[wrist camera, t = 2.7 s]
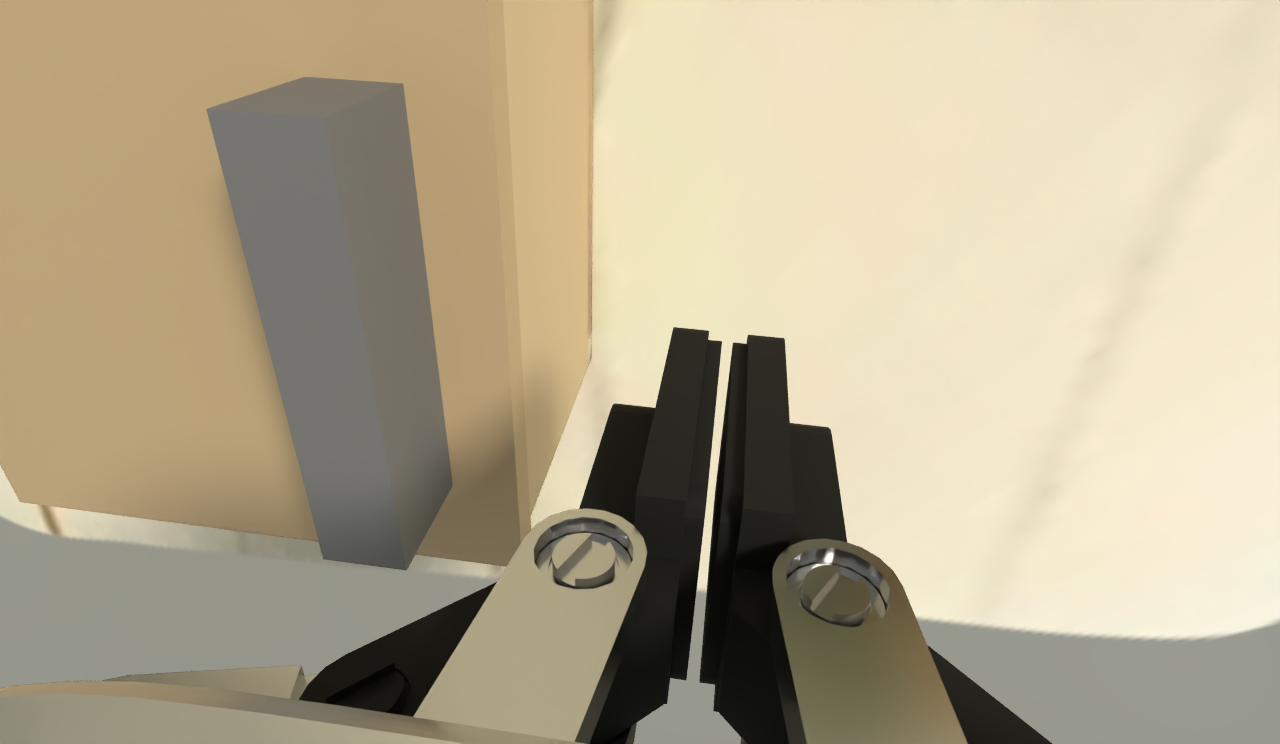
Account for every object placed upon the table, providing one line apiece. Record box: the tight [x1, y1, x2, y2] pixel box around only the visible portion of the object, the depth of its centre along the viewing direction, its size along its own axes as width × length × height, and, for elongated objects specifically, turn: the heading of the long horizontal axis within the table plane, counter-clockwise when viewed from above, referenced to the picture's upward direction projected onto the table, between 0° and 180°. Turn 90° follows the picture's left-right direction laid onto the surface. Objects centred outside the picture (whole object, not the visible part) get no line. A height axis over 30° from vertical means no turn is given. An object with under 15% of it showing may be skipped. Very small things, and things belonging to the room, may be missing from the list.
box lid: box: [0, 0, 531, 570], centre depth 13 cm, size 12×12×3 cm
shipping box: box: [503, 0, 593, 516], centre depth 18 cm, size 12×12×8 cm
